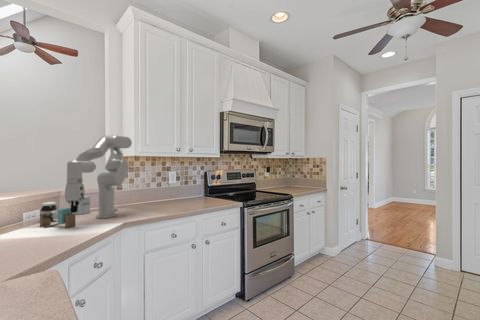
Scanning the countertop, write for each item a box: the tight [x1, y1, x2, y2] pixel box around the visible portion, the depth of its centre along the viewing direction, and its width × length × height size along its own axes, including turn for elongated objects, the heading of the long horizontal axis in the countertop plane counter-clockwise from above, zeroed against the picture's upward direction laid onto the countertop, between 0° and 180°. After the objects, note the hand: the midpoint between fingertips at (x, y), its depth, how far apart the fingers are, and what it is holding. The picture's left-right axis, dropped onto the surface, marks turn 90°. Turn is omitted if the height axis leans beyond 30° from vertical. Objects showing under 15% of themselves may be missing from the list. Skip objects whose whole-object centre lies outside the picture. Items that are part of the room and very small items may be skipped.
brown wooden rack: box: [39, 212, 76, 229], centre depth 142 cm, size 20×9×8 cm, turn 80°
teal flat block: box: [57, 206, 72, 225], centre depth 141 cm, size 3×7×8 cm, turn 170°
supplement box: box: [74, 195, 91, 216], centre depth 176 cm, size 7×7×13 cm
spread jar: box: [40, 201, 58, 222], centre depth 156 cm, size 12×11×12 cm
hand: (74, 212), depth 140 cm, fingers closed
